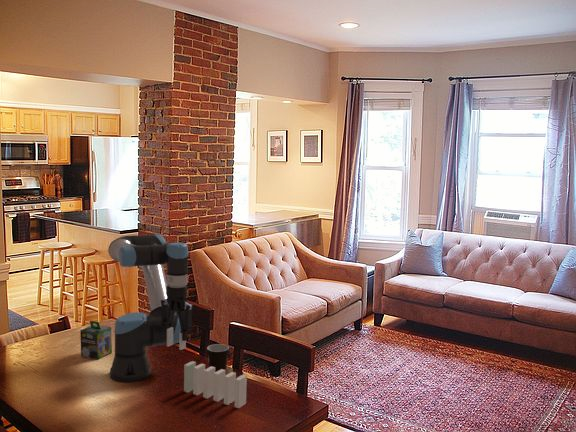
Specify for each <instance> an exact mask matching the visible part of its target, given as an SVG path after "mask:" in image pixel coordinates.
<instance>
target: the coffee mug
mask: <svg viewBox="0 0 576 432" xmlns="http://www.w3.org/2000/svg"><path fill="white" fill-rule="evenodd" d="M206 349H207V359H208V360H207V361H208V368H209V367H211V366H212V367H215V372H217V371H219V370H221V369H223V370H226V371H227V366H228V357H229V352H230V347H229V346H228V345H227V344H223V343H215V344H210V345H208V346H207V348H206Z"/></svg>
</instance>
